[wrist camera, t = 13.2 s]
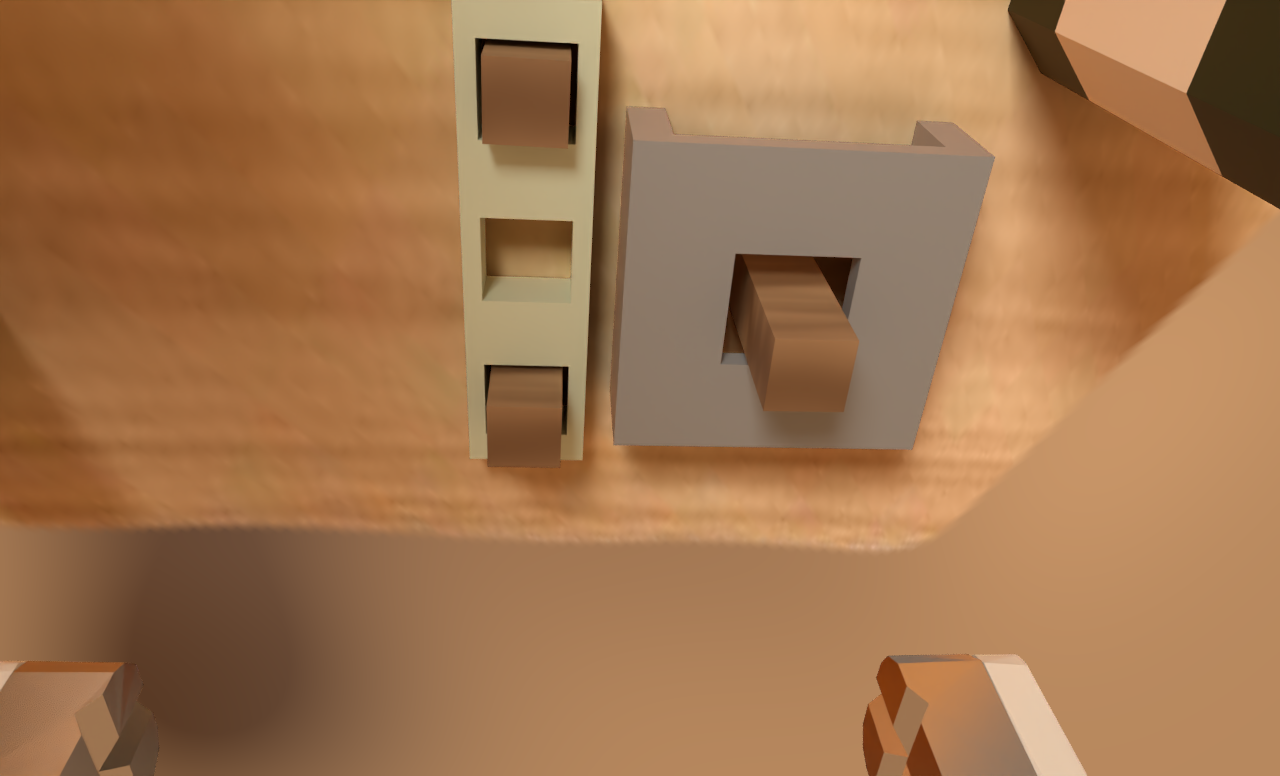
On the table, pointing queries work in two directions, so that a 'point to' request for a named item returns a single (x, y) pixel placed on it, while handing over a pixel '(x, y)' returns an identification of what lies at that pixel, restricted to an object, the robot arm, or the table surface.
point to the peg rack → (525, 211)
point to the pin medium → (524, 416)
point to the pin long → (792, 333)
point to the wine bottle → (1173, 74)
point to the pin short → (525, 93)
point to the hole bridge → (784, 225)
